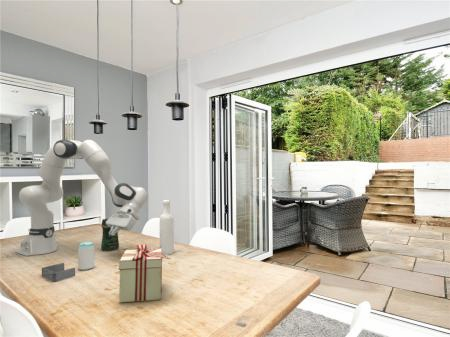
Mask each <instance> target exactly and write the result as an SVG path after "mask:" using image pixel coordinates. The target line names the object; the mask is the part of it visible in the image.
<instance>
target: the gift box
mask: <svg viewBox="0 0 450 337" xmlns="http://www.w3.org/2000/svg"><path fill="white" fill-rule="evenodd" d="M161 248H162V247H161ZM163 259H166V260H170V259H171V257H167V255H163V254H162V249H160V247H147V244H146V243H145V244H138V245H136V249H126V250H124V252H123V253H122V256H121V258H120V259H119V261H118V270H119V291H118V292H119V298H118V300H119V301H118V302H119V303H130V302H131V303H132V302H143V301H144V302H145V301H146V302H147V301H155V300H161V297H162V296H161V294H162V282H163V280H162V279H163V275H162V274H163V272H162V270H163Z"/></svg>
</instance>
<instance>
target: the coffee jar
mask: <svg viewBox="0 0 450 337" xmlns="http://www.w3.org/2000/svg"><path fill="white" fill-rule="evenodd" d="M108 219H109V218H103V219H102V221H101V229H102V234H101V236H102V238H101V245H100V246H101V247H100V248H101V249H100V250H102V251H103V252H110V251H116V250H118V249H119V248H120V244H119V231H118V232H117V233H115V235H110V234H109V232H110V230H111V227H109V226H108V225H106V221H107V220H108Z"/></svg>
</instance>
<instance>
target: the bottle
mask: <svg viewBox="0 0 450 337" xmlns="http://www.w3.org/2000/svg"><path fill="white" fill-rule="evenodd" d="M170 204H171V202H170V200H169V199H164V200H163V201H162V206H163V207H162V209H163V210H162V211H163V212H162V214H160V216H159V249H162V254H163V255H164V256H169V255H173V254H174V252H175V246H174V244H175V242H174V238H175V237H174V235H175V234H174V224H175V223H174V219H175V218H174V216H173V214H172V213H171V206H170ZM161 247H162V248H161Z"/></svg>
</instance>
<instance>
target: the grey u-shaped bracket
mask: <svg viewBox="0 0 450 337" xmlns="http://www.w3.org/2000/svg"><path fill="white" fill-rule="evenodd" d="M41 277H43V278H45V279H47V280H48V281H50V282H52V283H56V282H59V281H62V280H66V279H70V278H72V277H76V267H71V268H67V269H65V262H61V263H57V264H52V265H48V266H45V267H41Z"/></svg>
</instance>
